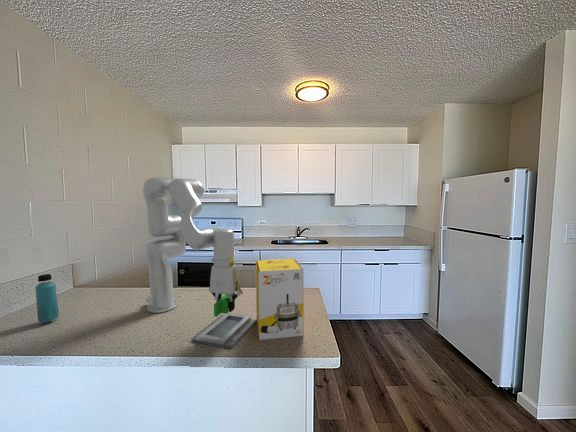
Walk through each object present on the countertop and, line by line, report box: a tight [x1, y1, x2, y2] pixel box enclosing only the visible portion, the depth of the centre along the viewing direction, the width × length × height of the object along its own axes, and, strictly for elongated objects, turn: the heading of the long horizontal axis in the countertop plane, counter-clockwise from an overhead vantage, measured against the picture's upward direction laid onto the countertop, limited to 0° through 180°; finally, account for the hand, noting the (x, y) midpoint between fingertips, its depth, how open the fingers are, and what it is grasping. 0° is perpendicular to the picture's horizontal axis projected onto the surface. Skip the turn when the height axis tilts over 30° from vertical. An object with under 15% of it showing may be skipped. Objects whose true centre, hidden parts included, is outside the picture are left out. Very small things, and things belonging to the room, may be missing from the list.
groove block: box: [190, 312, 257, 350], centre depth 101 cm, size 16×20×2 cm
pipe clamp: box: [213, 294, 230, 318], centre depth 100 cm, size 11×4×5 cm, turn 169°
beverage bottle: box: [34, 273, 60, 323], centre depth 109 cm, size 6×7×20 cm
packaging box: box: [255, 258, 304, 341], centre depth 103 cm, size 16×16×25 cm
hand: (225, 309), depth 101 cm, fingers closed on pipe clamp, 4 cm apart
